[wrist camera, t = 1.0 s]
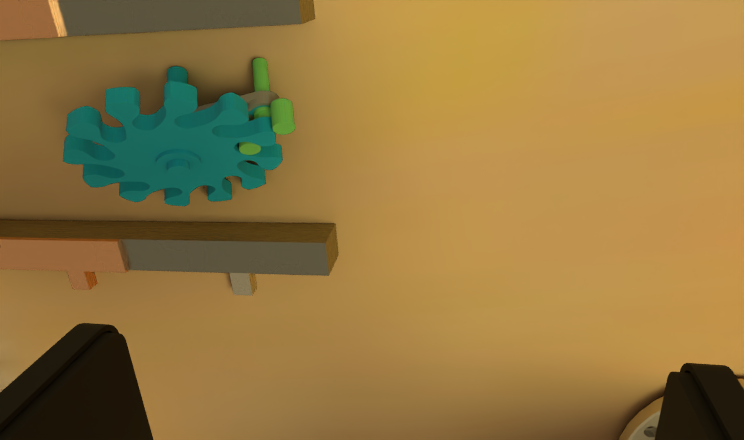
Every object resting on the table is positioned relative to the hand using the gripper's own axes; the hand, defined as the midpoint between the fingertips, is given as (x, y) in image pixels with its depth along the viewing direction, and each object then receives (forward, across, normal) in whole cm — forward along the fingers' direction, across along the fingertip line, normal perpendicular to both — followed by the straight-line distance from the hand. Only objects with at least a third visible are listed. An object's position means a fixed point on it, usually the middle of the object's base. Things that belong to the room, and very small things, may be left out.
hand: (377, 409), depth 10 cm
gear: (+21, +12, 0) cm, 24 cm away
